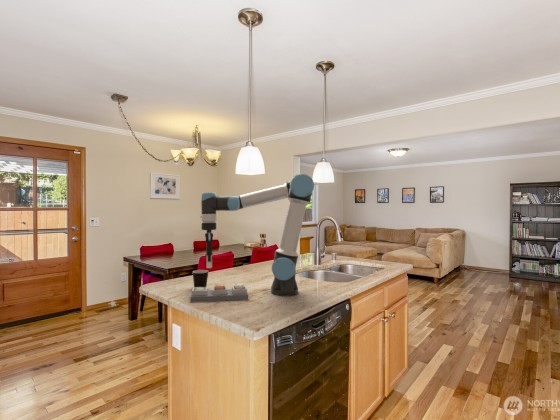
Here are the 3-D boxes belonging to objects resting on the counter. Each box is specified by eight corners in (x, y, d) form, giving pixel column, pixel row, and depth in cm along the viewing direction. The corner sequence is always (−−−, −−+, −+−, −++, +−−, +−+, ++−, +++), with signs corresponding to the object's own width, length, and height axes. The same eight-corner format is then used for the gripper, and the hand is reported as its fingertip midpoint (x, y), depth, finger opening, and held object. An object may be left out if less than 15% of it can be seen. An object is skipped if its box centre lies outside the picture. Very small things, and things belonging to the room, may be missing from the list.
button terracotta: (224, 288, 162) (224, 284, 162) (224, 290, 157) (224, 286, 157) (214, 288, 161) (215, 284, 161) (215, 291, 156) (215, 286, 156)
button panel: (245, 293, 168) (245, 284, 168) (248, 299, 156) (248, 290, 156) (191, 295, 162) (192, 286, 162) (190, 302, 150) (190, 292, 150)
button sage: (204, 291, 160) (204, 287, 160) (204, 294, 155) (204, 290, 155) (194, 292, 159) (195, 287, 159) (194, 294, 154) (194, 290, 154)
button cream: (243, 287, 164) (243, 283, 164) (244, 289, 160) (244, 285, 160) (234, 287, 163) (234, 283, 163) (235, 290, 158) (235, 286, 158)
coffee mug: (203, 291, 169) (204, 273, 169) (189, 290, 171) (189, 272, 171) (212, 286, 180) (213, 269, 180) (199, 285, 182) (199, 268, 182)
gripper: (201, 221, 166) (201, 265, 166) (201, 222, 154) (201, 270, 154) (215, 221, 168) (215, 265, 168) (217, 222, 156) (217, 269, 156)
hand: (209, 267), depth 161 cm, fingers closed
